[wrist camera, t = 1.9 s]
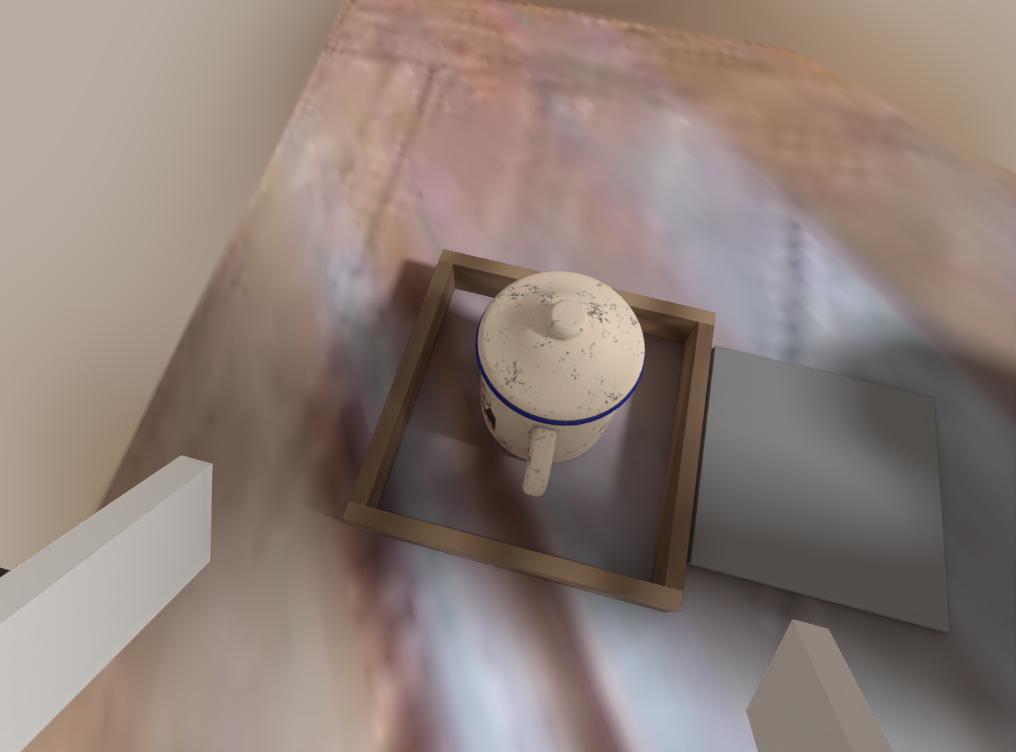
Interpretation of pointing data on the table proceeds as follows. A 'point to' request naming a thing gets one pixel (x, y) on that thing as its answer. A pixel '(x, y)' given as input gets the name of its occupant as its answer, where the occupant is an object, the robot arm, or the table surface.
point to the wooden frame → (657, 594)
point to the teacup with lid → (555, 367)
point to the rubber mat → (821, 488)
